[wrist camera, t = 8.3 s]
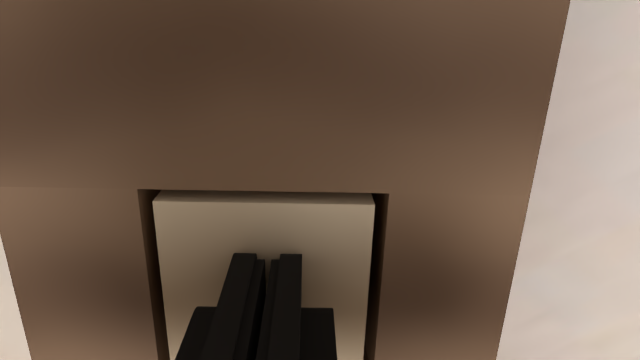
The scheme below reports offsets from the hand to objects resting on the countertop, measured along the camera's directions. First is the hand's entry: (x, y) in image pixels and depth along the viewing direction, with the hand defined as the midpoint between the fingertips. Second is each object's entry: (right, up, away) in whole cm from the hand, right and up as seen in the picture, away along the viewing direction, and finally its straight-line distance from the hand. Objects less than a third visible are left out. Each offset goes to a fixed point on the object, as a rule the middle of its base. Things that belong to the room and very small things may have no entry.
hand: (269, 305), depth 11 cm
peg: (0, +3, +7) cm, 8 cm away
